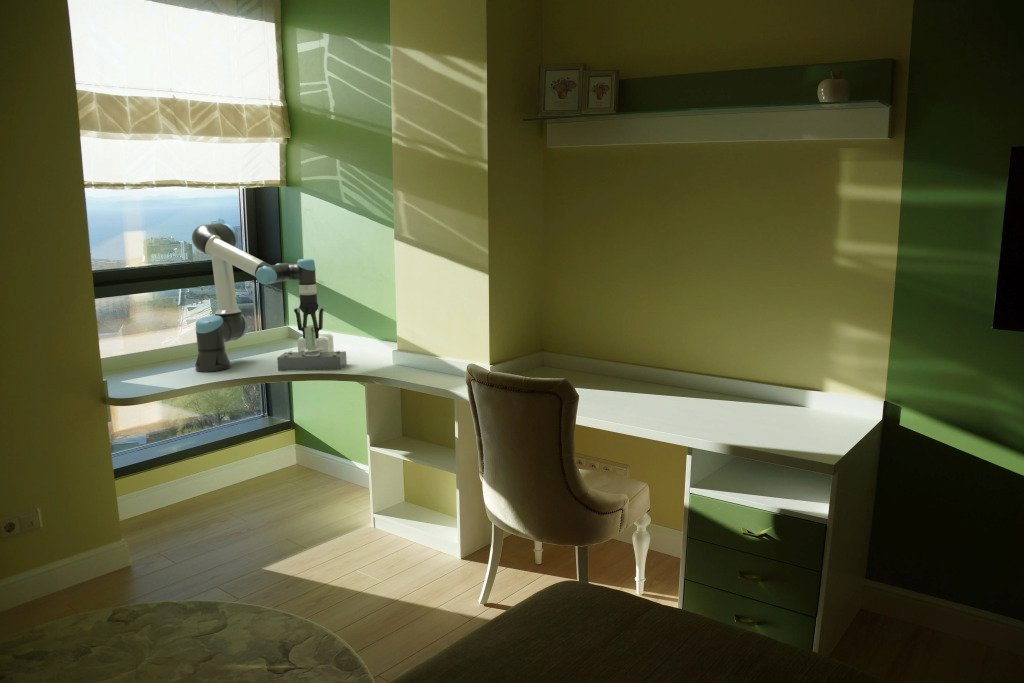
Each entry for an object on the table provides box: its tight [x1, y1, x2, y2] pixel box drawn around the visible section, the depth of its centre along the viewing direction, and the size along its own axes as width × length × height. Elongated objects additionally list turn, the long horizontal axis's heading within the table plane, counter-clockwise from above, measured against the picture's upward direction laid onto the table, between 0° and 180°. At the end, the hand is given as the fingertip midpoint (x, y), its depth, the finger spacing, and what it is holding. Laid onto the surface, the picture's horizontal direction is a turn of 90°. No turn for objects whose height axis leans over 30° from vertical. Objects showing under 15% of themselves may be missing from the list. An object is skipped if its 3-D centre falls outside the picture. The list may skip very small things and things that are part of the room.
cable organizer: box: [296, 332, 335, 352], centre depth 393 cm, size 15×11×12 cm
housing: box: [277, 350, 348, 372], centre depth 375 cm, size 28×12×7 cm, turn 88°
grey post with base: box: [301, 324, 323, 356], centre depth 374 cm, size 10×10×16 cm
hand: (311, 345), depth 374 cm, fingers closed on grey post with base, 3 cm apart
